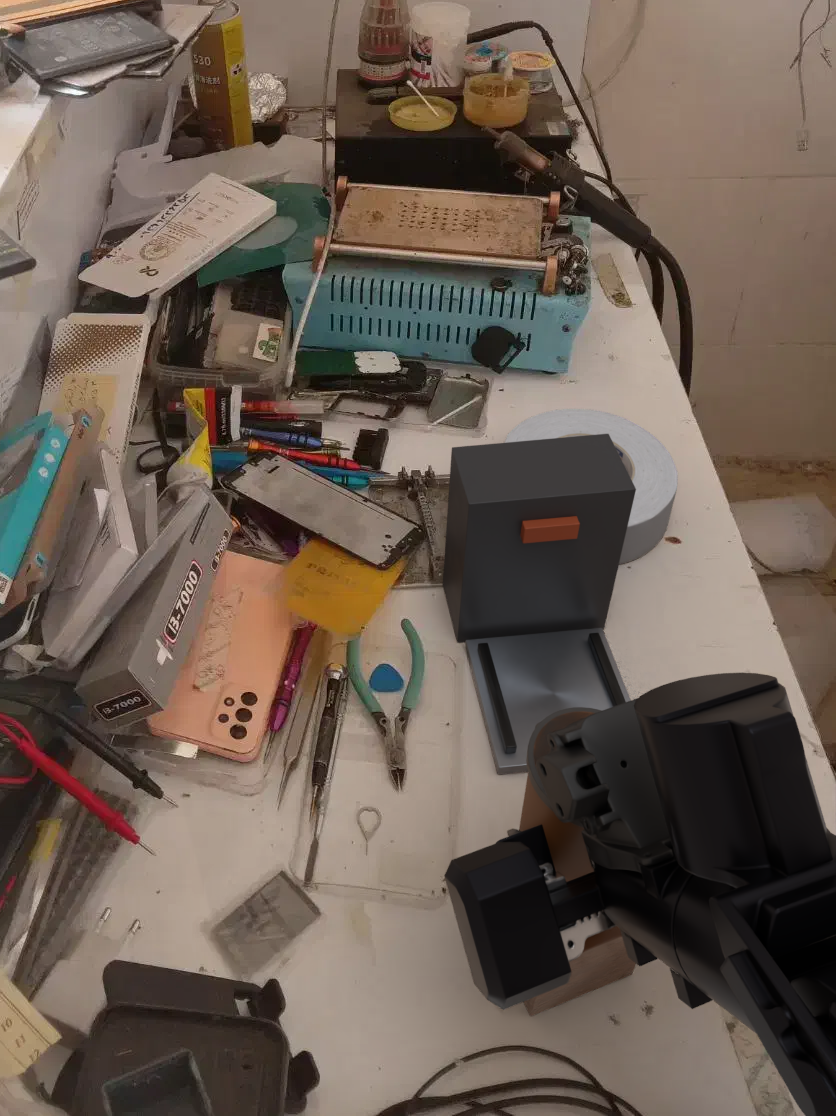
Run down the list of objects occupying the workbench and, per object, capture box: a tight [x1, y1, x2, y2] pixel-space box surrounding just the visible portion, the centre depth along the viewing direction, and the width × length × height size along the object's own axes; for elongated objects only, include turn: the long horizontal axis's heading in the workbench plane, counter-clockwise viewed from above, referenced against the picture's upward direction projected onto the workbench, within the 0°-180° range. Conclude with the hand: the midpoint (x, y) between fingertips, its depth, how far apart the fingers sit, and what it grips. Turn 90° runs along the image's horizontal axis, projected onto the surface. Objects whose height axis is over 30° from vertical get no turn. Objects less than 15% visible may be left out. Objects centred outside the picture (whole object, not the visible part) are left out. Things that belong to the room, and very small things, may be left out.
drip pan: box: [464, 628, 632, 775], centre depth 75 cm, size 11×11×2 cm
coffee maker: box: [442, 434, 636, 644], centre depth 78 cm, size 7×12×16 cm, turn 94°
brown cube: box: [523, 926, 637, 1017], centre depth 61 cm, size 7×7×7 cm
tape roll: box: [503, 408, 679, 565], centre depth 90 cm, size 15×15×5 cm
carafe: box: [518, 707, 602, 920], centre depth 55 cm, size 8×6×13 cm
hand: (562, 819), depth 56 cm, fingers closed on carafe, 6 cm apart
